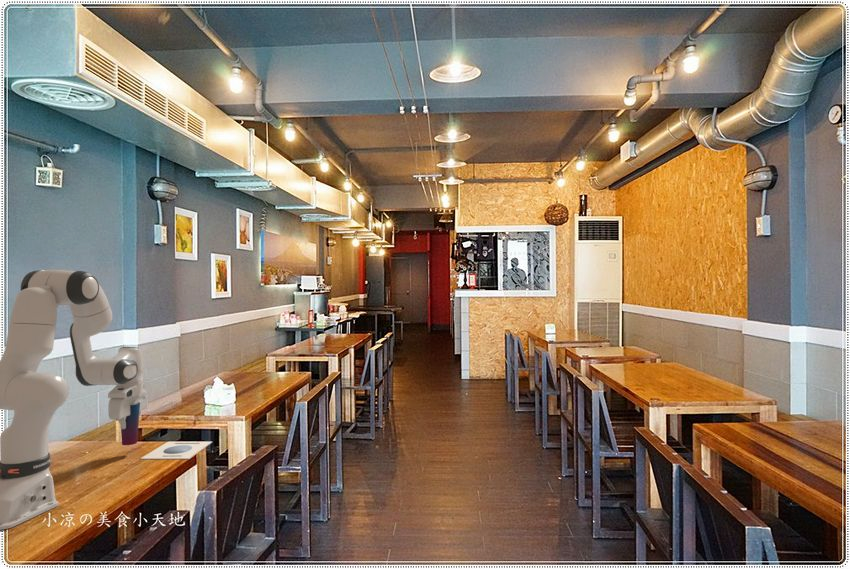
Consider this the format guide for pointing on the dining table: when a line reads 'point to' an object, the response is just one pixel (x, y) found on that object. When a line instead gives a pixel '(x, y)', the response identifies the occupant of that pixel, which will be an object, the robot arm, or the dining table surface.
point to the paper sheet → (176, 450)
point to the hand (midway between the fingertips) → (129, 426)
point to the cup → (131, 426)
